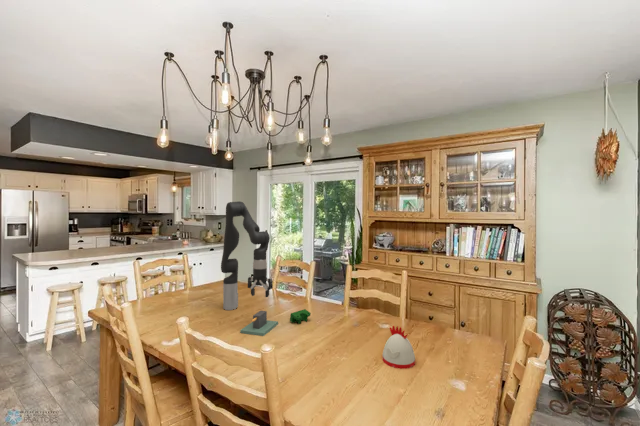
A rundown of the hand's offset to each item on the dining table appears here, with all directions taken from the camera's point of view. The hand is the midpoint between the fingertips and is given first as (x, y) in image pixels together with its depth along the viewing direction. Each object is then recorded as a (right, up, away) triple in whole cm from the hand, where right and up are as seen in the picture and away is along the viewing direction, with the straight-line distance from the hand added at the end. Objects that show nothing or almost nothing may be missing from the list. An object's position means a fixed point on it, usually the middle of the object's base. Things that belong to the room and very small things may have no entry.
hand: (259, 296), depth 173 cm
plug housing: (-1, -17, -2) cm, 17 cm away
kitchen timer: (+68, -19, -37) cm, 80 cm away
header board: (0, -18, 0) cm, 18 cm away
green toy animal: (+22, -18, +11) cm, 31 cm away
